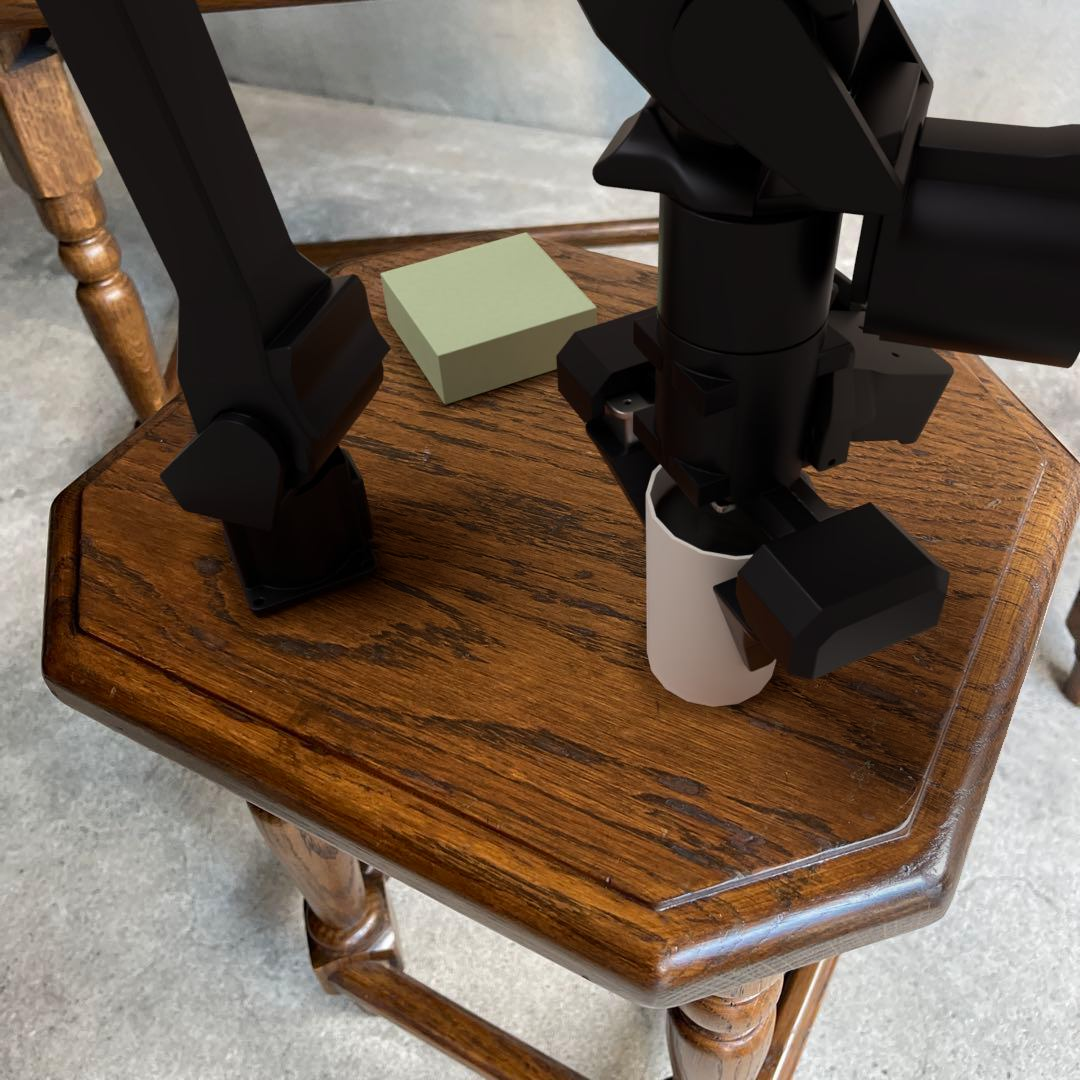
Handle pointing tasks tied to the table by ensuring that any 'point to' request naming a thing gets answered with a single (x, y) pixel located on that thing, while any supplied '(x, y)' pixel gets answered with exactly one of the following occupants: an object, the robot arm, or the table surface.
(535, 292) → the riser block
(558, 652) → the table surface
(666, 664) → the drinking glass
